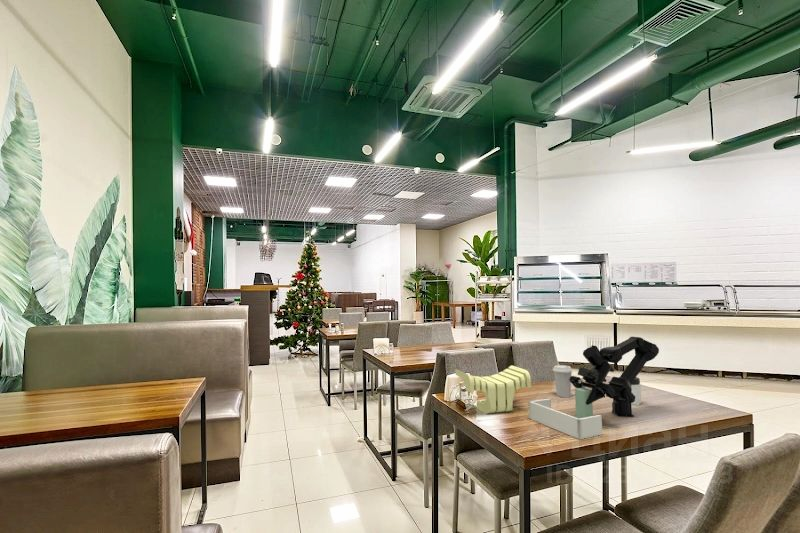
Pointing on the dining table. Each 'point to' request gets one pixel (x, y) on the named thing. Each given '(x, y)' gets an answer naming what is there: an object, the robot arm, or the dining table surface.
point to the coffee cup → (562, 380)
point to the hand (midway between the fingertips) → (581, 402)
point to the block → (583, 403)
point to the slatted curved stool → (497, 388)
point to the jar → (636, 391)
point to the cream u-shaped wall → (565, 420)
